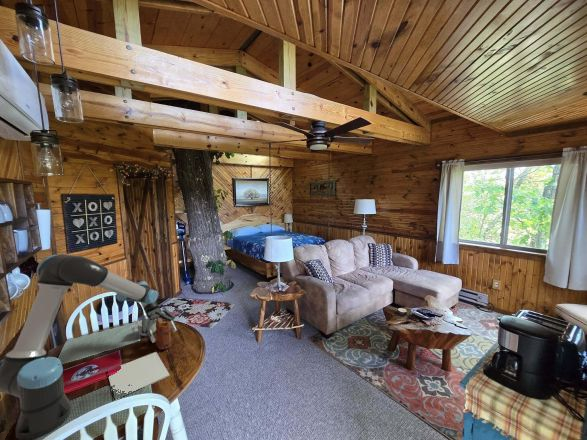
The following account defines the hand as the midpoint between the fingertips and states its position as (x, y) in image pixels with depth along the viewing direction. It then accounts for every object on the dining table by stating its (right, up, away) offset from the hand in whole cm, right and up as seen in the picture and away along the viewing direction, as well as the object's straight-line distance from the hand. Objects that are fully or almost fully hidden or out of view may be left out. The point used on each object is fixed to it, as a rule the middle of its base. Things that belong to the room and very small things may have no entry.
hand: (165, 336), depth 141 cm
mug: (-2, -6, +2) cm, 7 cm away
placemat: (-2, -8, -21) cm, 23 cm away
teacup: (-20, -5, +13) cm, 24 cm away
